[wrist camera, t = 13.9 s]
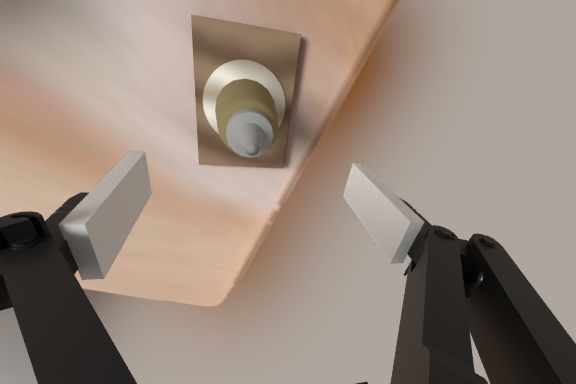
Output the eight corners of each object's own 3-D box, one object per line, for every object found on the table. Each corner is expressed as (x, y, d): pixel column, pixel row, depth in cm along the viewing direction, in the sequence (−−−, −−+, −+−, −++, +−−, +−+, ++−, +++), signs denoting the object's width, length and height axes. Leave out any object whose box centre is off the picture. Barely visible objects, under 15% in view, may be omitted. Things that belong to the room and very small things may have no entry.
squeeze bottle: (228, 64, 33) (221, 80, 17) (281, 91, 36) (315, 124, 20) (209, 119, 36) (190, 174, 21) (259, 140, 39) (275, 200, 24)
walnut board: (193, 15, 31) (190, 14, 29) (298, 34, 34) (301, 34, 32) (200, 160, 41) (198, 165, 39) (281, 164, 44) (283, 169, 42)
